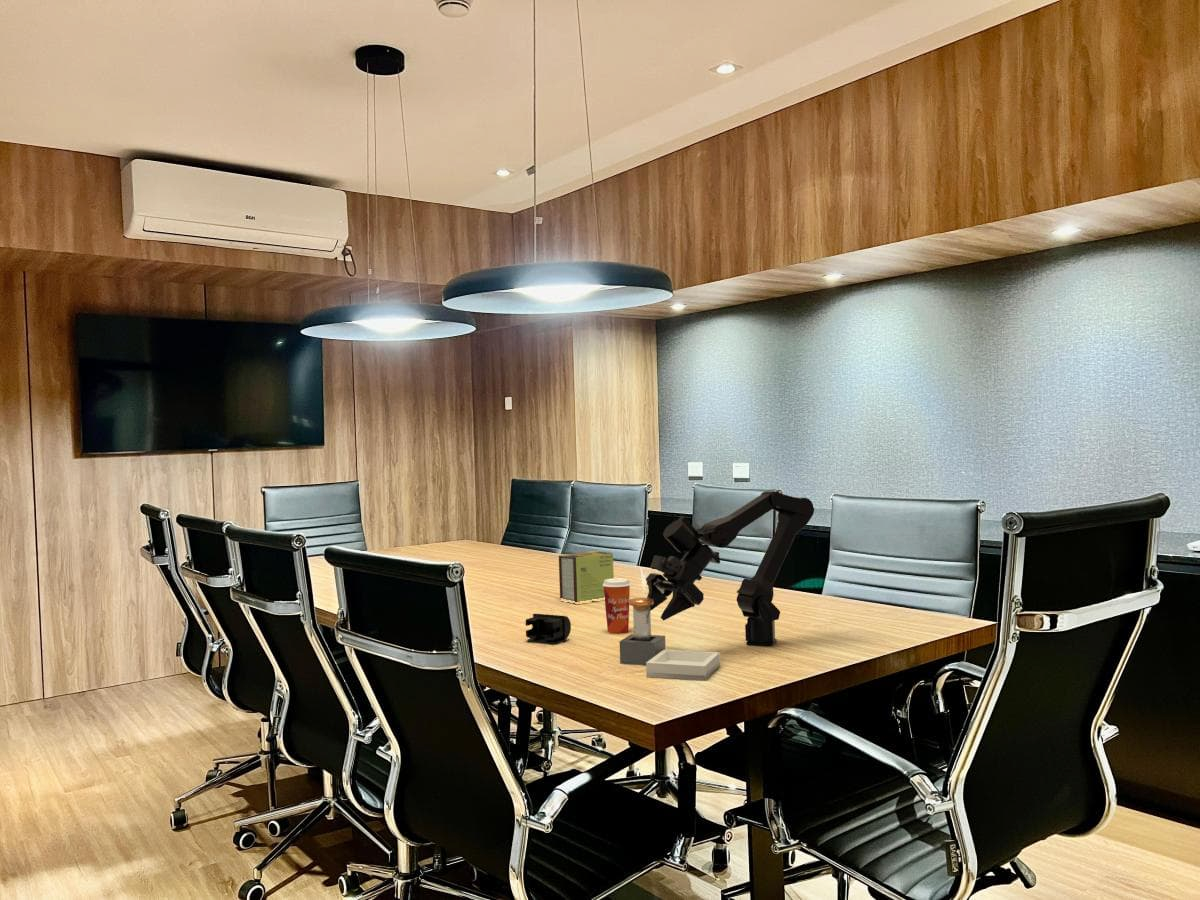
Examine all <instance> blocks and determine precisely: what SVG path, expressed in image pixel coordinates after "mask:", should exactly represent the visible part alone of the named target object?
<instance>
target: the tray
mask: <svg viewBox="0 0 1200 900" xmlns="http://www.w3.org/2000/svg"><path fill="white" fill-rule="evenodd" d="M720 655H721V654H720V652H714V651H695V650H693V651H692V650H678V649H676V650H675V649H666V650H663V651H661V652H660V653H659V654H657V655H656V656H654V657H653V658H652V659H650V660H649V661H648V662H646V665H645V668H646V669H645V670H646V671H645V672H646V675H645V676H646V677H647V678H660V679H661V678H662V679H663V678H664V679H675V680H676V679H677V680H692V681H694V680H695V681H706V680H708V679H709V678H710V677H711V676H712V674H714V673H715V672H716V670H718V669H719V668H720V667H721V659H720V658H721V657H720Z"/></svg>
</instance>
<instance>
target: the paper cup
mask: <svg viewBox="0 0 1200 900" xmlns="http://www.w3.org/2000/svg"><path fill="white" fill-rule="evenodd" d="M631 585H632V583H631V582H630V580H629V579H628V578H620V577H619V578H617V577H616V578H614V579H606V580H604V584H603V586H604V595H605V601H604V605H605V607H604V608H605V609H604V610H605V615H606V626H607V632H609V634H615V635H616V634H617V635H618V634H620V633H622V634H626V633H628V632H629V629H630V628H629V625H630V605H629V600H630V592H631V591H630V589H631V587H630V586H631ZM620 635H621V634H620Z"/></svg>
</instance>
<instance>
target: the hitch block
mask: <svg viewBox="0 0 1200 900" xmlns="http://www.w3.org/2000/svg"><path fill="white" fill-rule="evenodd" d="M618 643H619V664H627V665H628V664H629V665H645V666H646V662H648V661H649V660H650V659H652V658H653V657H654V656H656V655H657V654H659V653H660V652H661V651H663V650H667V648H666V647H667V646H666V635H659V634H651V641H634V633H632V634H631V633H630V634H629V635H628V636H626V637H625V638H623V639H621V640H620V641H619V642H618Z"/></svg>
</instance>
